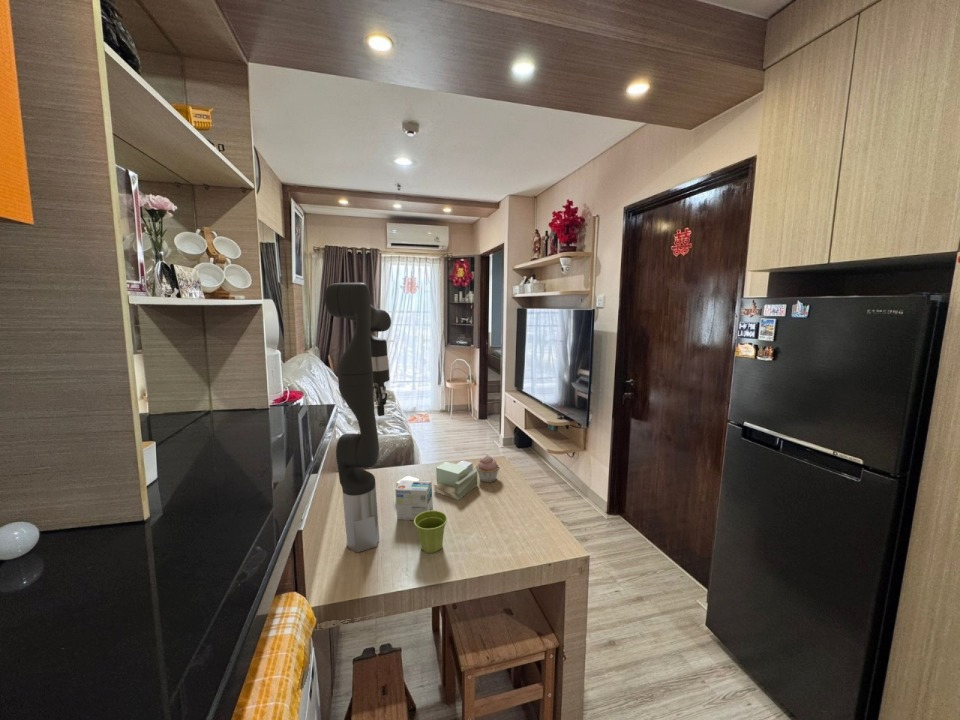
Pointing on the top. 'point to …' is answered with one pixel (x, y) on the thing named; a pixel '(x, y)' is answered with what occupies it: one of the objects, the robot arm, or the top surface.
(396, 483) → the cream block
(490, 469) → the cupcake
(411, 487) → the light bulb box
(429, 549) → the plant pot
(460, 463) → the grey-blue block
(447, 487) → the birch bay
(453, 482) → the sage block
